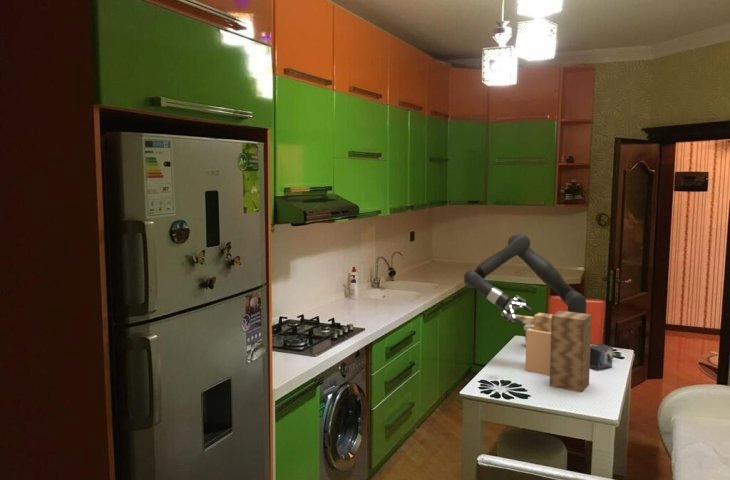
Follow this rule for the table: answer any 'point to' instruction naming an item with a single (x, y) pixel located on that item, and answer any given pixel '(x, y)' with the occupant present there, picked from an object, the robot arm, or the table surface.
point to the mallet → (537, 321)
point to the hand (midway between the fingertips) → (526, 317)
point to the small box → (601, 357)
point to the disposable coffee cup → (527, 328)
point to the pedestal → (538, 351)
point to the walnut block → (570, 350)
